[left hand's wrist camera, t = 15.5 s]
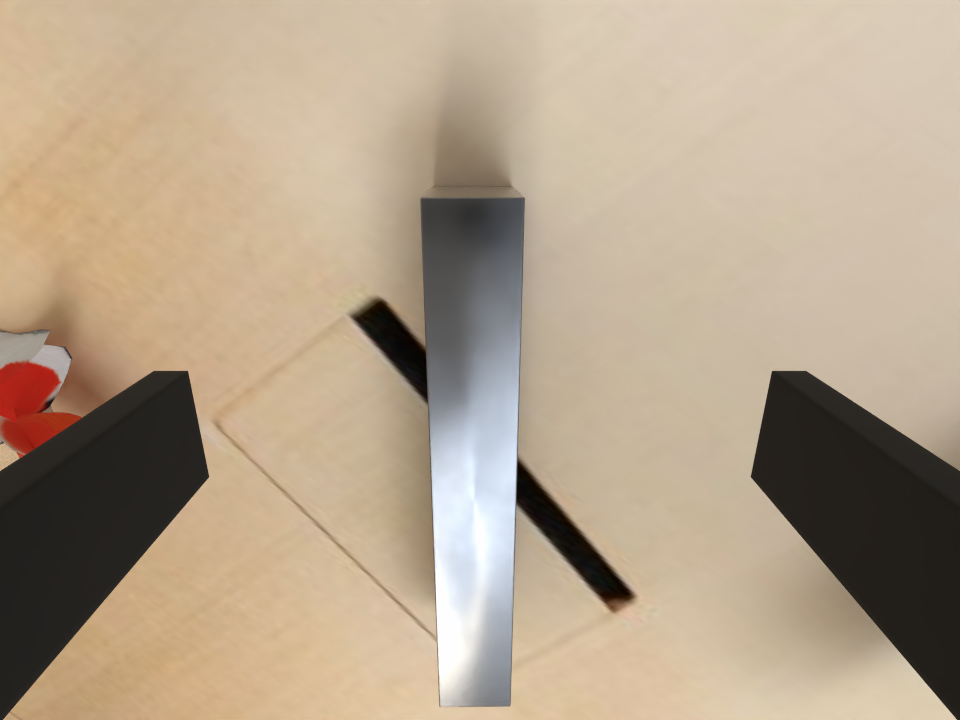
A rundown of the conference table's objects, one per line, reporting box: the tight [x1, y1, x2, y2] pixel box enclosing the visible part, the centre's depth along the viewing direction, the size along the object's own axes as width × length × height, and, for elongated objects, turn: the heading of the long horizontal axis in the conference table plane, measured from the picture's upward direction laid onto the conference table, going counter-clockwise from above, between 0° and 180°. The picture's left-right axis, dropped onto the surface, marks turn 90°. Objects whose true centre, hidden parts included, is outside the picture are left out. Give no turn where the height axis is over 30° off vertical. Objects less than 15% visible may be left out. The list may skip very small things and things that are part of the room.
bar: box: [420, 187, 525, 707], centre depth 35 cm, size 33×5×8 cm, turn 0°
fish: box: [0, 330, 82, 458], centre depth 34 cm, size 11×16×10 cm
